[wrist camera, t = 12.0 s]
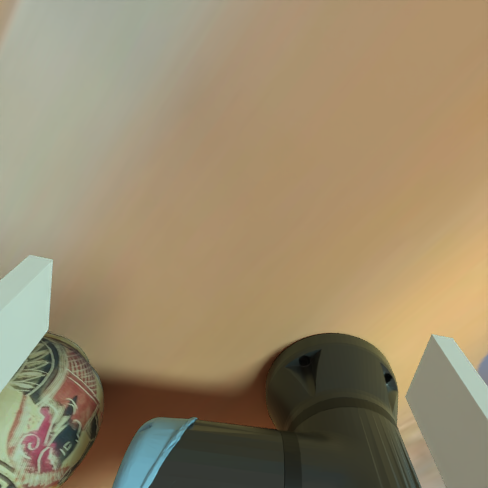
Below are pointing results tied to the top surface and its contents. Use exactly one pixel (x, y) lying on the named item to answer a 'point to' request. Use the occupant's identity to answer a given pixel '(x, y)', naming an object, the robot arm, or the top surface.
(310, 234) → the top surface
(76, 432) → the ceramic jug
